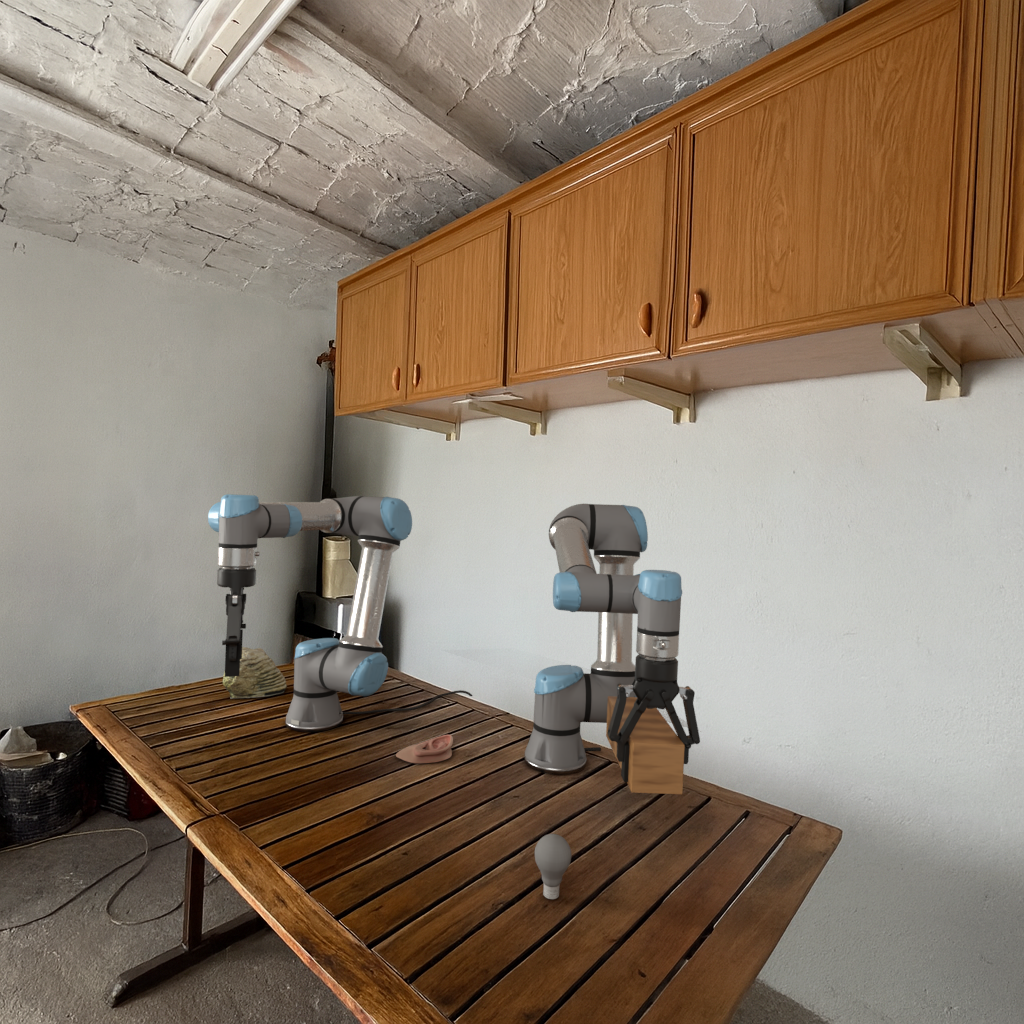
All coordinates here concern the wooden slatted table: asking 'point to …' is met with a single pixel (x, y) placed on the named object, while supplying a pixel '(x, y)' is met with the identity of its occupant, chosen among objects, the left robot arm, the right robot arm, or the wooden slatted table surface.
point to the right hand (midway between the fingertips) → (651, 779)
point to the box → (651, 752)
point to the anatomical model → (428, 750)
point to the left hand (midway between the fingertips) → (233, 667)
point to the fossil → (255, 676)
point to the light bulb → (552, 862)
